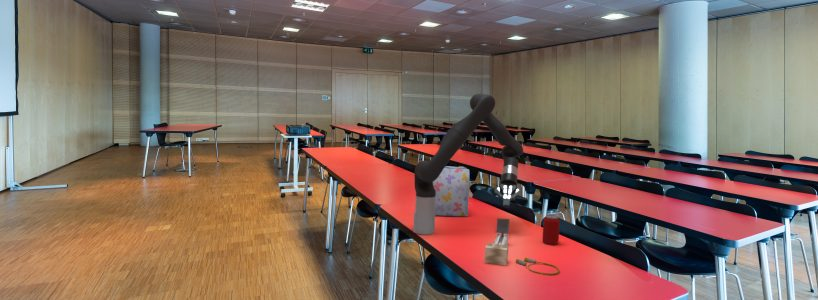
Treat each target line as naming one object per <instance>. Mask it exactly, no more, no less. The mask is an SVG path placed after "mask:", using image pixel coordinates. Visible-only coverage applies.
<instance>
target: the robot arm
mask: <svg viewBox="0 0 818 300" xmlns="http://www.w3.org/2000/svg"><path fill="white" fill-rule="evenodd" d="M469 106H470V109H471V112H470V113H468V114H467V116H465V117H463V118H462V119H460V120H459V121H457V122H455V124H453V125H452V126H451V127H449V130H448V131H447V132H446V133H445V135H443V137H442V140H441V142H440V144H439V145H440V146H439V147H438V150H437V152H435V154H434V155H433V156H432V158H431V159H429V161H428V160H421V161H419V162H418V163H417V164H416V165H415V169H414V191H415V206H414V207H415V211H414V212H413V228H412V229H413V231H412V232H413V233H415V234H417V235H422V236H423V235H425V236H426V235H427V236H428V235H433V234H435V225H436V223H435V221H436V215H435V201H436V190H435V189H434V186H433V181H435V180H436V179H437V178H438V177H439V175H440V174H441V172H442V171H443V169H444V167H445V166H447V165H448V163H449V162H450V160H451V159H452V158H453V157H454V156H455V155H456V153H457V152H458V151H459V150H460V149H461V148H462V146H463V145H464V144H465V142H466V141H467V140H468V139H469V137H470V136H471V135H472V134H473V133H474V132H475V130H476V129H477V128H478V127H479V125H480V124H481V123H482V122H483V123H484V124H485V126H486V127H487V128H488V130H489V131H490V132H491V134H492V135H493V136H494V138H495V141H497V143H498V144H499V145H500V146H502V149H501V156H502V159H503V167H502V171H501V178H500V185H499V186H498V187H495V188H494V193H495V194H496V196H497V197H498V198H499V200H501V201H503V202H502V205H503V207H504V208H505V209H508V208H510V203H511V202H514V201H515V200H516V199H518V198H519V197H520V196H521V195H522V189H519V188H518V186H517V185H518V177H519V175H518V174H519V172H518V171H519V170H518V168H519V160H518V159H517V158H518V157H521V156H522V155H523V154H524V148H523V145H522V143H520V142H519V141H518V140H517V139H516V138H514V136H512V135H511V134H510V131H509V130H508V129H507V127H506V126H505V125H504V124H503V123H502V122H501V121H500V120H499V119H498V118H497V117H496V116H495V115H494V114H493V113H492V112H493V111H494V109H495V107H496V99H495V98H494V96H492V95H490V94H485V93H476V94H473V95H472V96H471V97H470V100H469Z"/></svg>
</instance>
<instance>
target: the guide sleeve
mask: <svg viewBox="0 0 818 300" xmlns="http://www.w3.org/2000/svg"><path fill="white" fill-rule="evenodd" d="M500 236H501V233H496V235H495V239H494V241H493V243H494V244H498V242H499V239H500ZM508 244H509V234H504V238H503V241H502V245H508ZM508 246H509V245H508Z"/></svg>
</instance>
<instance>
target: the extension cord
mask: <svg viewBox="0 0 818 300" xmlns="http://www.w3.org/2000/svg"><path fill="white" fill-rule="evenodd" d="M515 263H516V264H518V265H520V266H525V267H526V269H528V270H529V271H530V272H531V273H534V274H538V275H542V276H556V275H558V274H560V268H559V267H558V266H556V265H554V264H551V263H547V262H541V261H536V259H533V258H528V257H524V259H523V260H522V259H519V258H516V259H515ZM527 263H529V264H528V265H527ZM537 264H542V265H543V266H544V265H545V266H550V267H553V268H555V269H556V270H557V272H553V273H548V272H540V271H536V270H532V269H530V266H533V265H537Z"/></svg>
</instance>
